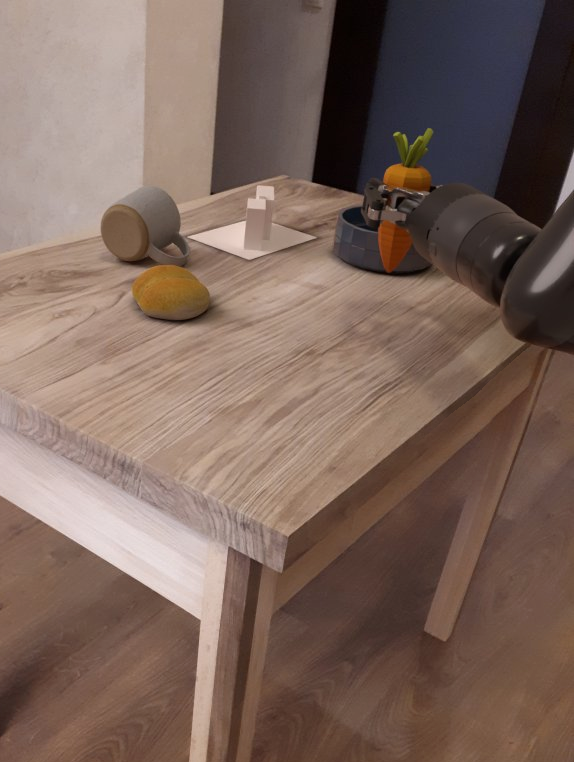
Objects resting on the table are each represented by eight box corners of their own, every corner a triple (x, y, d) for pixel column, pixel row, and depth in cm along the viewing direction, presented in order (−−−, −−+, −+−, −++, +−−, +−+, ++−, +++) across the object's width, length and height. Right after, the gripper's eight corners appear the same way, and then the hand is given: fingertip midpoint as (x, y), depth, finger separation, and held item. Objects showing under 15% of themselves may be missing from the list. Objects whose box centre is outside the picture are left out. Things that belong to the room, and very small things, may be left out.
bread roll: (148, 326, 83) (149, 289, 81) (125, 294, 90) (125, 259, 88) (221, 319, 86) (224, 283, 84) (193, 288, 93) (195, 254, 90)
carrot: (362, 274, 88) (388, 128, 80) (371, 262, 92) (397, 121, 83) (406, 283, 87) (438, 135, 78) (414, 269, 91) (445, 127, 82)
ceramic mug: (95, 257, 99) (95, 193, 94) (129, 239, 105) (130, 179, 100) (170, 277, 96) (174, 212, 91) (201, 258, 102) (205, 196, 97)
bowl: (386, 237, 113) (394, 201, 110) (453, 268, 104) (462, 230, 101) (312, 247, 107) (317, 209, 104) (375, 281, 98) (383, 241, 95)
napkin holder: (255, 217, 117) (259, 176, 113) (318, 237, 111) (324, 195, 108) (185, 237, 108) (188, 193, 104) (250, 260, 102) (255, 215, 98)
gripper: (550, 195, 72) (462, 152, 86) (405, 194, 70) (337, 149, 83) (525, 275, 77) (445, 222, 90) (388, 277, 74) (326, 222, 87)
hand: (394, 187), depth 87 cm, fingers closed on carrot, 5 cm apart
